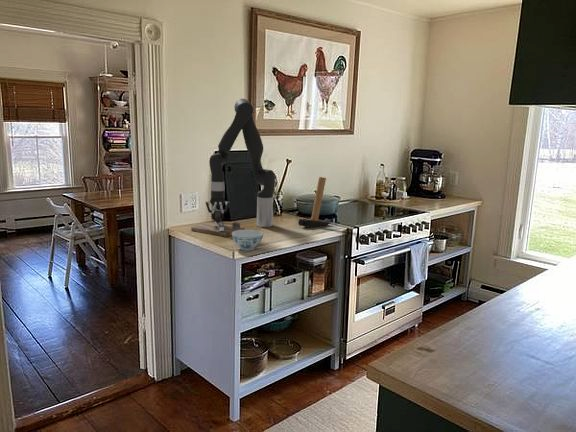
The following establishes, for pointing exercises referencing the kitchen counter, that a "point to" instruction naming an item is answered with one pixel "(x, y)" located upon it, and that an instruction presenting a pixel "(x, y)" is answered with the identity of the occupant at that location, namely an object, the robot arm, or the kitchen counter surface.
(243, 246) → the chinaware
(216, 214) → the lever
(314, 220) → the hammer
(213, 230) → the press base
